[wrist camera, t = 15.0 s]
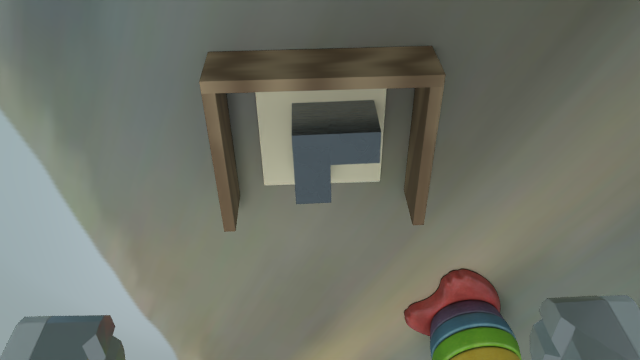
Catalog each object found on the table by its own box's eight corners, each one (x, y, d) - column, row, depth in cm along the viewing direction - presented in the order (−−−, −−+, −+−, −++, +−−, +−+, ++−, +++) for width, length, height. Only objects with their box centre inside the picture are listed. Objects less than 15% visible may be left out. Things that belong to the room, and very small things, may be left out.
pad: (386, 75, 45) (387, 77, 45) (379, 178, 52) (379, 181, 51) (254, 78, 45) (254, 81, 44) (264, 182, 52) (264, 185, 51)
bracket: (291, 103, 46) (291, 135, 42) (374, 99, 46) (381, 131, 42) (296, 168, 50) (296, 204, 46) (371, 165, 50) (377, 200, 46)
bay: (431, 45, 43) (445, 74, 40) (414, 189, 53) (423, 224, 49) (208, 52, 43) (199, 81, 39) (229, 195, 52) (224, 231, 48)
